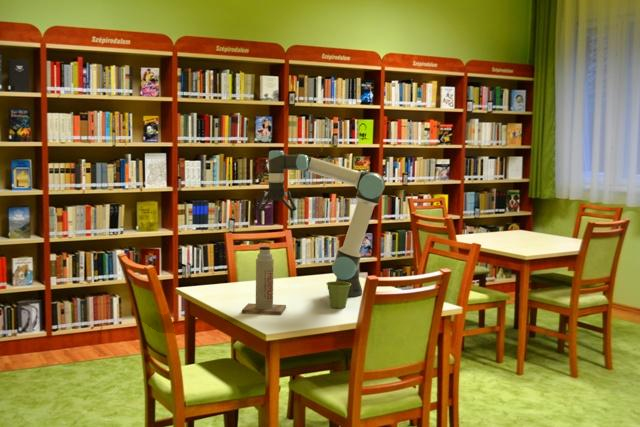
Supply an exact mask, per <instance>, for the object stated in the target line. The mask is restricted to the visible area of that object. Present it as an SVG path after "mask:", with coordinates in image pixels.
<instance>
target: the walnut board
mask: <svg viewBox="0 0 640 427" xmlns="http://www.w3.org/2000/svg"><path fill="white" fill-rule="evenodd" d="M286 309H287V305H286V304H274V303H273V308H271V309H258V308H256V303H252V302H251V303H249V302H248V303H247V304H246V305H245V306H244V307H243V308H242V309H241V313H242V314H248V315H249V314H250V315H251V314H252V315H253V314H254V315H272V316H273V315H274V316H277V315H278V316H282V315H283V313H284V312H285V310H286Z"/></svg>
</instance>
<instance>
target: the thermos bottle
mask: <svg viewBox="0 0 640 427" xmlns="http://www.w3.org/2000/svg"><path fill="white" fill-rule="evenodd" d="M274 262H275V261H274V259H273V254H272V253H271V247H269V246H260V247H259V253H258V254H257V258H256V259H255V304H256V308H258V309H271V308H273V304H274Z"/></svg>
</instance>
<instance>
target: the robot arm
mask: <svg viewBox="0 0 640 427" xmlns="http://www.w3.org/2000/svg"><path fill="white" fill-rule="evenodd" d="M267 162H268V181H269V182H268V191H265V190H264V191H262V193H261V197H260V198H259V201H258V203H257V205H256V207H255V210H257V211H259V218H261V225H265V211H264V209H265V208H266V207H267V206H268V205H269V203H270V202H271V201H273V202H274V201H281V202H282V203H283V204H284V205H285V206H286V208H287V209H288V210H289V211H288V225H289V226H291V224H292V218H294V211H297V209H298V208H297V206H296V204H295V202H294V200H293V198H292V196H291V191H286V192H285V183H284V181H285V171H303V172H304V171H305V172H308V173H312V174H314V175H318V176H322V177H325V178H328V179H331V180H334V181H338V182H341V183H344V184H348V185H350V186H354V187H355V189H357V192H356V194H355V198H356V200H357V201H356V204H355V208H354V211H353V214H352V217H351V220H350V222H349V226H348V230H347V232H346V236H345V239H344V241H343V244H342V246H341V247H339V248H338V250H336V251H337V252H336V255H335V259H334V261H333V263H332V266H331V267H332V273H333V275H335V277H336V280H335V281H339V282H348V283H351V286H350V289H349V292H348V297H350V298H351V297H353V298H354V297H360V296H362V295H363V289H362V285H361V282H360V261H361V257H362V255H361V252H360V250H361V247H362V244H363V242H364V238H365V235H366V233H367V230H368V226H369V224H370V220H371V218H372V215H373V211H374V208H375V206H378V205H379V203H380V200H381V198H382V194H383V192H384V190H385V188H386V181H385V178H384V177H383V175H381V174H379V173H378V172H371V171H365V170H359V171H358V170H356V169H355V170H354V169H352V168H349V167H345V166H342V165H338V164H335V163H333V162H328V161H325V160H322V159H318V158H315V157H311V156H308V155H307V154H303V153H298V154H285V152H284V150H270V151H269V152H268V160H267ZM267 195H268V197H269V198H268V199H266V201H265V202H264V199H265V197H267ZM284 196H286V197H287V199H288V200H289V203H290V204H289V203H288V201H287V200H286V199H285V197H284ZM263 202H264V204H263ZM262 204H263V205H262ZM348 297H347V298H348Z"/></svg>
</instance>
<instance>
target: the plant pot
mask: <svg viewBox="0 0 640 427" xmlns="http://www.w3.org/2000/svg"><path fill="white" fill-rule="evenodd" d="M326 286H327V290H328V297H329V298H328V299H329V305H330V308H333V309H336V308H337V309H345V308H346V307H347V302H348V292H349V289H350V286H351V283H348V282H339V281H336V280H335V281H328V282H326Z"/></svg>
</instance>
